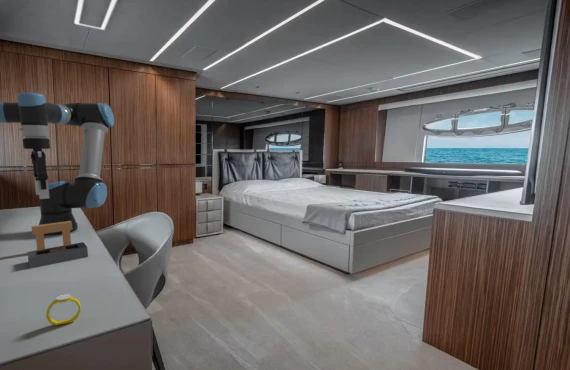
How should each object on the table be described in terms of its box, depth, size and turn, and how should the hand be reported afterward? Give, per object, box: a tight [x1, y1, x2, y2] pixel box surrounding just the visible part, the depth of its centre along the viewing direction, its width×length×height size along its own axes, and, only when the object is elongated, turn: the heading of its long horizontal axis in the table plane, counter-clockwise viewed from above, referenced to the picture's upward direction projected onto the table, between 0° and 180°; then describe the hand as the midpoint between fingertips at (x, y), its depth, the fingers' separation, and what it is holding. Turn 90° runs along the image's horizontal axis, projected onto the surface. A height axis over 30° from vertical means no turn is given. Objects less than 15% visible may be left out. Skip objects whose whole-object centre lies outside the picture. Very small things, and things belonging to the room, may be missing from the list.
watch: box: [45, 293, 82, 326], centre depth 66 cm, size 6×3×6 cm, turn 122°
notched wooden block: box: [30, 221, 73, 250], centre depth 116 cm, size 12×3×10 cm, turn 132°
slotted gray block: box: [27, 241, 89, 269], centre depth 106 cm, size 16×8×4 cm, turn 132°
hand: (42, 196), depth 112 cm, fingers open, 13 cm apart
